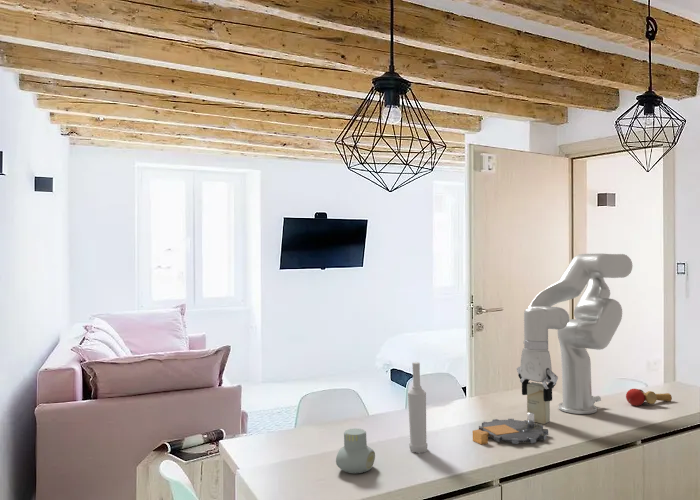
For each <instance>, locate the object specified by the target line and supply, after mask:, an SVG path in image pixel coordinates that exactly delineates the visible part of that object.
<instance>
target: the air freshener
mask: <svg viewBox="0 0 700 500" xmlns="http://www.w3.org/2000/svg"><path fill="white" fill-rule="evenodd" d="M367 442H368V441H367V431H366V430H365V429H362V428H349V429H347V430H345V431H344V432H343V446H342V447H341V448H340V449H339V450H338V451H337V454H336V458H335V463H336V467H338V468H339V469H340V470H341V471H343V472H345V473H348V474H363V472H364V473H366V472H368V471H370V470H371V469H372V468H373V466H374V464H375V459H376V453H375V451H374V449H373V448H371V447H370V446H368V445H367Z"/></svg>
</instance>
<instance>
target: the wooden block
mask: <svg viewBox="0 0 700 500" xmlns="http://www.w3.org/2000/svg"><path fill="white" fill-rule="evenodd" d="M472 442H475V443H477V444H480V445H482V446H483V445H487V444H488V443H489V437H488V433H486V432H484V431H481V430H479V428H478V429H475V430H472Z"/></svg>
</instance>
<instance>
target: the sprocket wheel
mask: <svg viewBox="0 0 700 500" xmlns="http://www.w3.org/2000/svg"><path fill="white" fill-rule="evenodd" d="M526 413H527V412H526ZM526 416H527V417H528V420H527V419H526V420H519V419H514V418H507V419H498V418H494V419H492V420H491V421H488V422H487V421H483V422H481V426H480V425H479V426H478V429H479V430H481V431H484V432H486V433H488V438H491V439H493V441H494V442H499V443H500V442H502V441H503V442H509V443H511V444H517V445H519V443H530V444H536V443H537V441H539V440H542V441H546V439H547V438H548V437H547V436H549V429H548V428H544V424H541V423H535V422H534V413H533V412H528V413H527V414H526Z"/></svg>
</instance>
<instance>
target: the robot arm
mask: <svg viewBox="0 0 700 500" xmlns="http://www.w3.org/2000/svg"><path fill="white" fill-rule="evenodd" d="M633 267H634V266H633V261H632V259H631V258H630V257H629V255H627V254H624V253H580V254H577V255H575V256H574V257H572V259H571V260H570V262H569V264H568V265H567V267H566V268H565V270H564V271H563V273H562V275H561V276H560V278H559V279H558V280H557V282H554V283H552V284H551V285H549V286H548V287H546V288H544V289H543V290H542V291H540V292H539V293H538V294H537V295H536V296H535V297H534V298H533V299H532V301H531V302H530V304H529V306H528V308H525V310H524V312H523V333H524V334H523V337H524V338H523V344H524V345H523V347H524V348H522V350H521V351H522V352H521V357H520V365H519V366H518V367H517V368H516V371H517V375H518V378H519V382H520V383H521V395H522V396H527V384H529V383H531V381H532V382H535V383H541V384H543V385H544V387H545V389H543V398H544V401H545V402H546V401H550V402H552V401H553V389H554V388H555V386H556V385H557V382H558V379H559V376H558V375H557V374H556V373H554V372H553V371H552V370H553V368H552V360H551V358H552V357H551V353H550V350H549V330H557V331H556V332H557V338H558V342H559V348H560V355H561V387H562V388H561V389H562V402H560V403H559V404H558V405H557V406H558V409H559V410H560V411H562V412H564V413H568V414H573V415H589V414H594V413H597V412H598V407H597V406H596V405H595V403H597V402H600V401H602V398H601V396H600V395H596V396H594V395H592V362H591V358H590V354H589V352H588V350H589V349H590V350H597V351H600V350H604V349H606V348H607V347H608V346H609V345H610V344H611V343H610V342H611V341H612V339H613V337H614V335H615V333H616V331H617V329H618V327H620V326H619V325H620V323H621V322H622V319H623V308H622V305H621V304H620V302H619V301H618V300H616V299H614V298H610V296H611V290H610V288H609V286H608V284H607V283H606V281H605V279H607V278H609V279H618V278H627V277H629V276H630V275H631V273H632V271H633ZM583 291H584V292H583ZM581 294H582V295H581ZM578 297H580V298H579V300H578V301H577V303H576V306H575V307H574V309H573V310H574V311H573V316H574V318H575V319H573V318H572V319H571V318H570V314H569V312H568V311H566V309H564V308H562V307H559V306H555V305H556V304H560V303H563V302H567V301H570V300H573V299H575V298H578ZM587 349H588V350H587ZM547 384H548V385H547Z"/></svg>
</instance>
